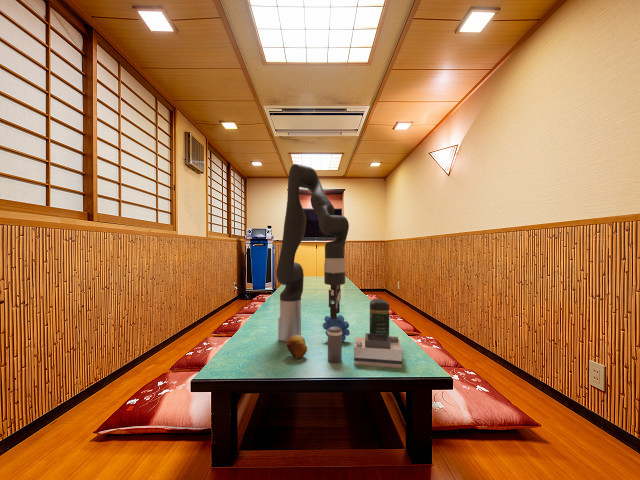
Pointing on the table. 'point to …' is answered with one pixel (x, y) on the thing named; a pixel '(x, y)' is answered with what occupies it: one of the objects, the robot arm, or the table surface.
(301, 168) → the robot arm
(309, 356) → the table surface
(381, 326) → the coffee jar
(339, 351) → the flashlight
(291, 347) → the fruit
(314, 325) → the table surface
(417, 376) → the table surface
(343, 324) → the grapes
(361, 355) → the box with square recess
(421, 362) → the table surface
